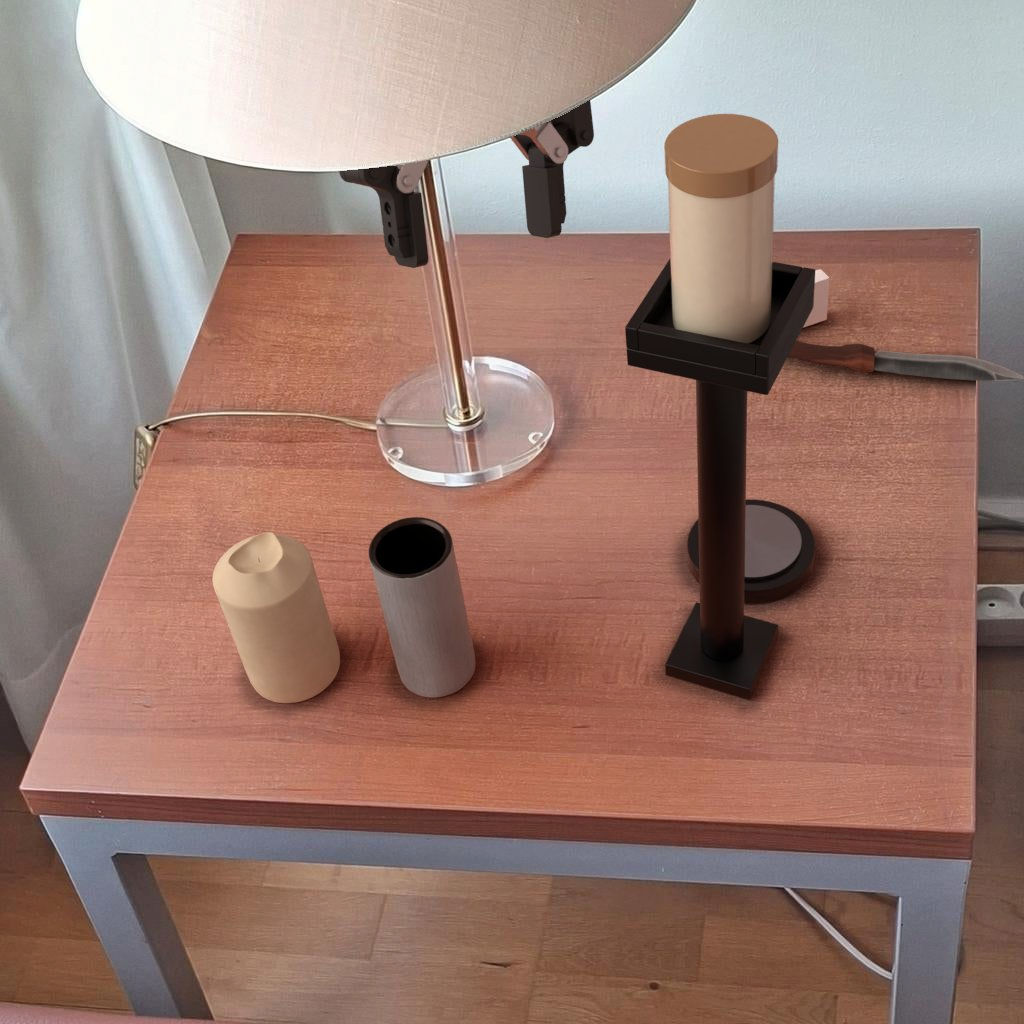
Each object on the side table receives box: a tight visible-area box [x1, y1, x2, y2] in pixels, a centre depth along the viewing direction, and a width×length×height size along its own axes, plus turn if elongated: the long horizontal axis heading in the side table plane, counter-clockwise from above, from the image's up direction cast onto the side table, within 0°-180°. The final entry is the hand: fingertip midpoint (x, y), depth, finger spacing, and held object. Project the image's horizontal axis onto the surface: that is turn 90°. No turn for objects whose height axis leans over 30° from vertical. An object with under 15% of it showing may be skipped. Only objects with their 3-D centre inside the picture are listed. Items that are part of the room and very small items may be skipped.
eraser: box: [802, 268, 830, 329], centre depth 100 cm, size 1×5×4 cm, turn 112°
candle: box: [212, 531, 341, 704], centre depth 80 cm, size 6×6×10 cm
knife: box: [788, 340, 1024, 382], centre depth 96 cm, size 18×2×3 cm
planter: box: [367, 516, 476, 698], centre depth 79 cm, size 4×4×10 cm
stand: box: [624, 258, 816, 701], centre depth 72 cm, size 7×7×25 cm
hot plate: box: [686, 498, 816, 605], centre depth 85 cm, size 8×8×2 cm
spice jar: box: [663, 113, 779, 344], centre depth 61 cm, size 5×5×9 cm
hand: (480, 250), depth 74 cm, fingers open, 8 cm apart
